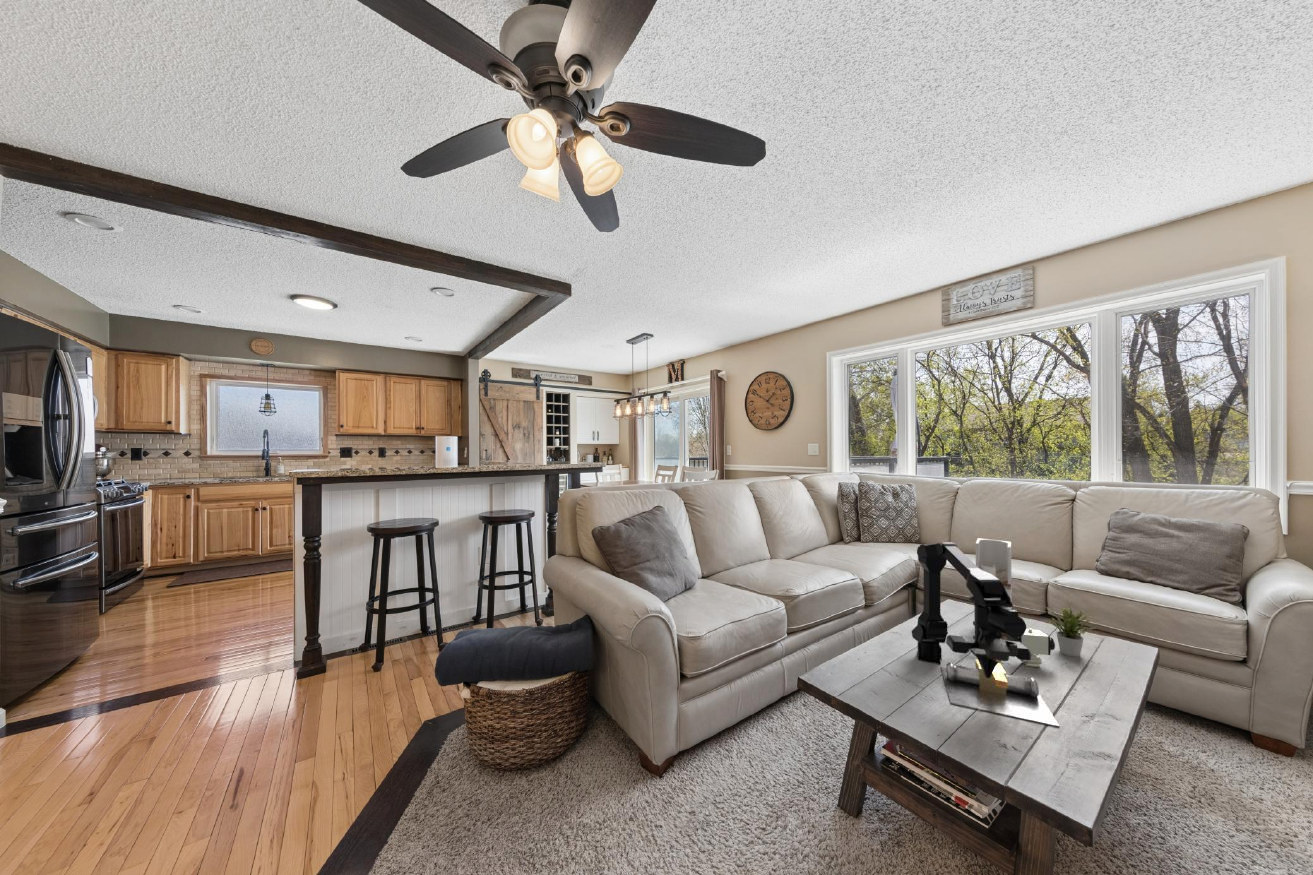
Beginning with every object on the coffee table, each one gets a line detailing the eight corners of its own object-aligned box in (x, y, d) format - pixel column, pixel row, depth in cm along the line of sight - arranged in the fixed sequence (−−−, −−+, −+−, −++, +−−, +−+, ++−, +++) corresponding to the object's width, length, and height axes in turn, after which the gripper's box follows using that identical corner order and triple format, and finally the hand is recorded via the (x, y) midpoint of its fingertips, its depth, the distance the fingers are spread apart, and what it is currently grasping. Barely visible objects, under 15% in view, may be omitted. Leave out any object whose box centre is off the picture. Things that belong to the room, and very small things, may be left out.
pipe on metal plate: (950, 704, 128) (950, 678, 128) (940, 668, 148) (940, 646, 148) (1059, 727, 117) (1059, 700, 117) (1033, 685, 137) (1033, 662, 137)
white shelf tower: (978, 624, 182) (977, 538, 183) (1011, 631, 176) (1011, 541, 176) (976, 633, 174) (975, 543, 174) (1011, 641, 167) (1010, 547, 167)
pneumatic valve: (1055, 670, 146) (1055, 633, 146) (1014, 666, 149) (1014, 630, 149) (1044, 661, 152) (1044, 626, 152) (1005, 658, 154) (1005, 623, 154)
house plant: (1115, 665, 149) (1115, 616, 149) (1073, 664, 149) (1072, 615, 149) (1076, 645, 163) (1075, 600, 163) (1037, 645, 164) (1037, 600, 164)
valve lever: (983, 661, 138) (983, 655, 138) (994, 663, 137) (994, 657, 137) (995, 685, 124) (995, 679, 124) (1007, 688, 123) (1007, 681, 123)
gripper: (959, 630, 122) (960, 687, 122) (1042, 638, 117) (1042, 698, 117) (945, 614, 133) (946, 667, 132) (1020, 621, 127) (1020, 676, 127)
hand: (987, 677), depth 127 cm, fingers closed
